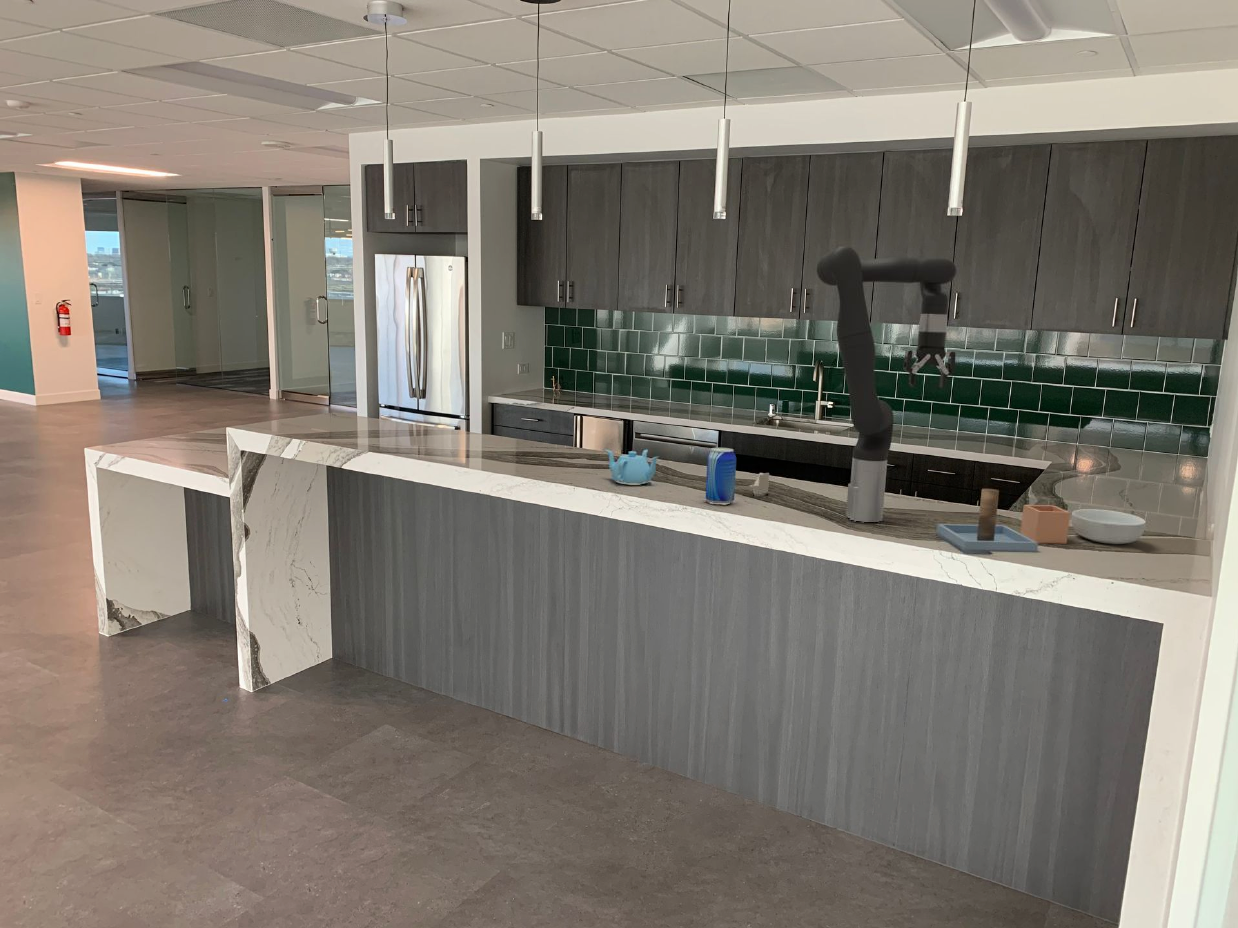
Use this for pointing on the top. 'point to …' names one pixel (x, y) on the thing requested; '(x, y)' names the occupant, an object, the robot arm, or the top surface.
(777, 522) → the top surface
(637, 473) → the teapot
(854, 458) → the robot arm
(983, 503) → the walnut peg
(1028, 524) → the terracotta open box
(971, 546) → the slate-blue tray
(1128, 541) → the cereal bowl
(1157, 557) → the top surface
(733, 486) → the beer can
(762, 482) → the architectural model
